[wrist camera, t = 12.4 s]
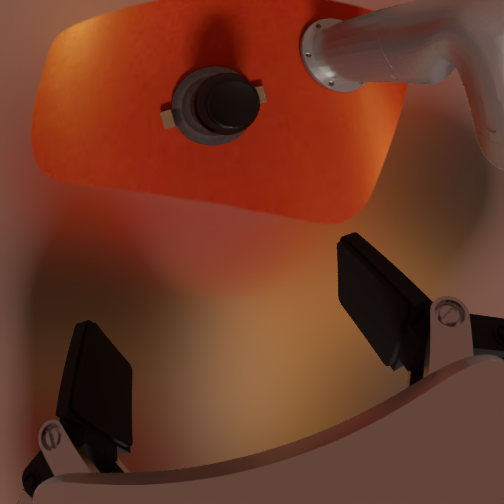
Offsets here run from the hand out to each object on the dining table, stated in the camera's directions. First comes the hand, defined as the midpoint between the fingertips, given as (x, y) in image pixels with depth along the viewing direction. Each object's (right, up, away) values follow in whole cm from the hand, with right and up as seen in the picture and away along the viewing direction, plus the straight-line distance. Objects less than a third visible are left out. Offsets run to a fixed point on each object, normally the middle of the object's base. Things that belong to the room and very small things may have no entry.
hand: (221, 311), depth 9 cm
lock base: (-4, +21, +22) cm, 31 cm away
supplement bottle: (-4, +21, +22) cm, 30 cm away
